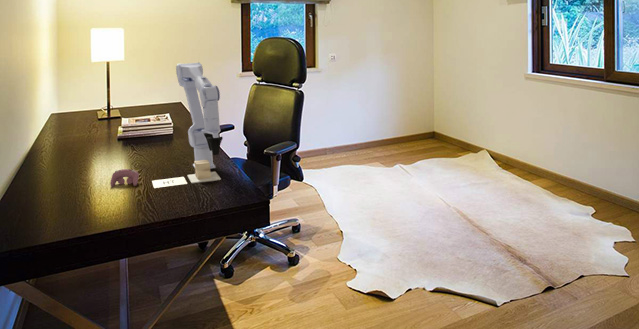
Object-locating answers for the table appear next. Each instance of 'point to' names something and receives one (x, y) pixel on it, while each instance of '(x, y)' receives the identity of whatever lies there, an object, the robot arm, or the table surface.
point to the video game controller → (124, 173)
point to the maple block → (202, 169)
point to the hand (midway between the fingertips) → (214, 152)
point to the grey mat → (213, 177)
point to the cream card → (169, 182)
